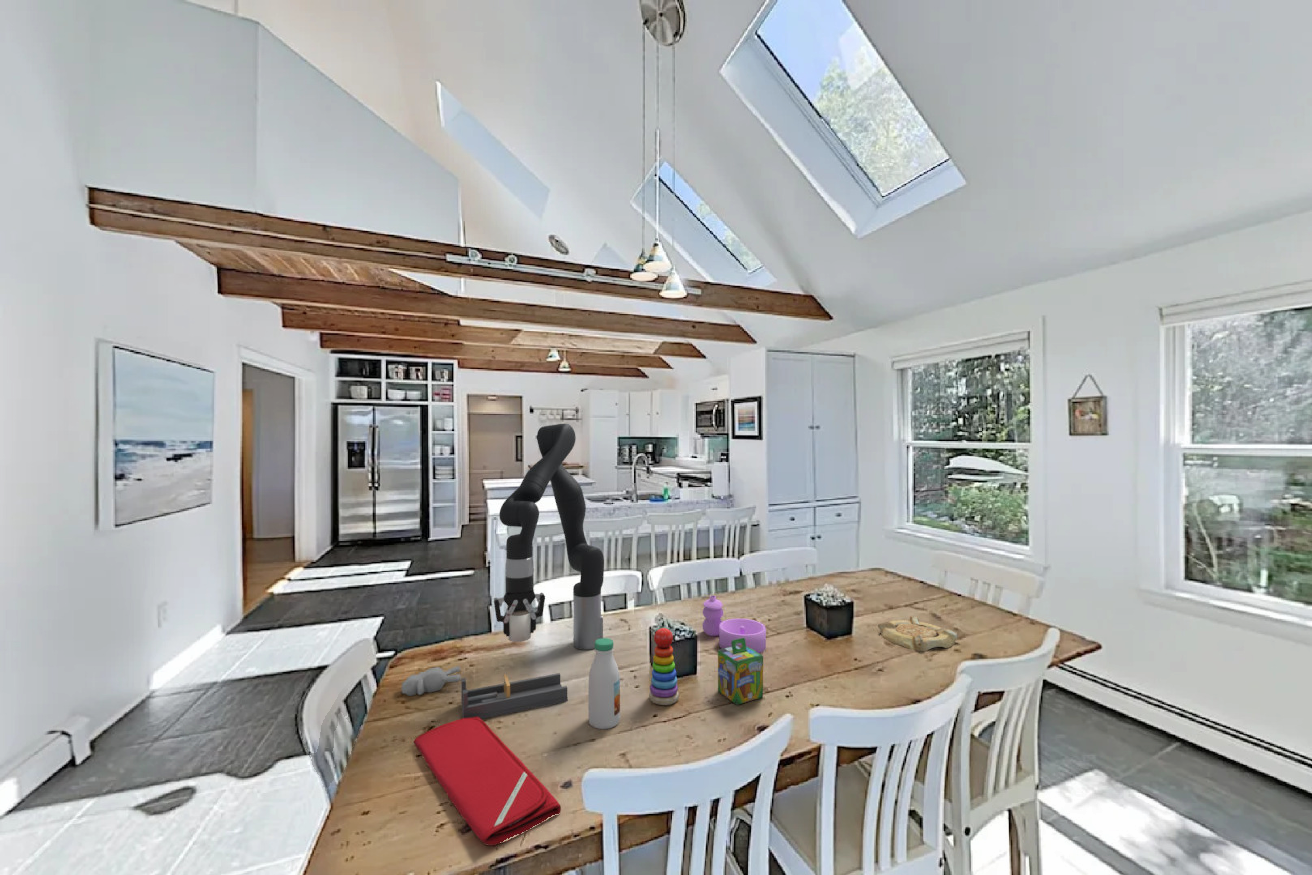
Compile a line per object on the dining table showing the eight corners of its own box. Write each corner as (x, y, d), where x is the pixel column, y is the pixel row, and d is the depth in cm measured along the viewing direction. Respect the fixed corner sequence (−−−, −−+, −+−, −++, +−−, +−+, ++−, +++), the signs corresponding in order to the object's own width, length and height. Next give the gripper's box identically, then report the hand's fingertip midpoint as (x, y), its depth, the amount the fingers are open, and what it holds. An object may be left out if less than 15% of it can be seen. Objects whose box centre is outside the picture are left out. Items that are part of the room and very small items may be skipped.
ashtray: (971, 653, 170) (971, 637, 170) (897, 652, 170) (897, 637, 170) (934, 625, 194) (934, 612, 194) (869, 625, 194) (869, 612, 194)
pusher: (506, 692, 142) (506, 674, 142) (510, 704, 136) (510, 685, 135) (463, 701, 137) (463, 682, 137) (465, 713, 131) (465, 693, 131)
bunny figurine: (402, 672, 149) (459, 657, 154) (405, 689, 149) (461, 674, 154) (399, 687, 140) (459, 671, 145) (402, 705, 140) (461, 689, 145)
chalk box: (736, 706, 137) (736, 649, 137) (716, 691, 145) (716, 637, 145) (764, 697, 141) (764, 643, 141) (743, 683, 150) (743, 631, 149)
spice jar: (529, 632, 150) (529, 605, 150) (532, 640, 144) (532, 612, 144) (507, 635, 148) (507, 608, 147) (509, 643, 142) (509, 615, 142)
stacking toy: (685, 698, 141) (685, 629, 141) (664, 710, 135) (664, 637, 135) (663, 688, 147) (663, 621, 146) (643, 699, 141) (642, 629, 141)
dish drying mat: (480, 722, 131) (480, 707, 131) (563, 814, 99) (563, 795, 99) (413, 747, 121) (412, 730, 121) (481, 858, 89) (481, 836, 89)
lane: (559, 685, 149) (559, 660, 149) (567, 701, 140) (567, 674, 140) (461, 704, 139) (461, 677, 138) (463, 722, 130) (463, 694, 130)
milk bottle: (607, 733, 125) (606, 650, 125) (582, 724, 129) (581, 643, 129) (626, 718, 131) (625, 638, 131) (601, 709, 136) (601, 632, 135)
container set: (775, 646, 175) (775, 607, 175) (744, 659, 165) (744, 617, 165) (720, 625, 194) (720, 589, 194) (690, 635, 185) (689, 598, 184)
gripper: (543, 567, 152) (543, 625, 152) (491, 572, 147) (491, 632, 147) (548, 574, 145) (548, 635, 145) (493, 579, 140) (493, 642, 140)
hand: (519, 633), depth 146 cm, fingers closed on spice jar, 6 cm apart
